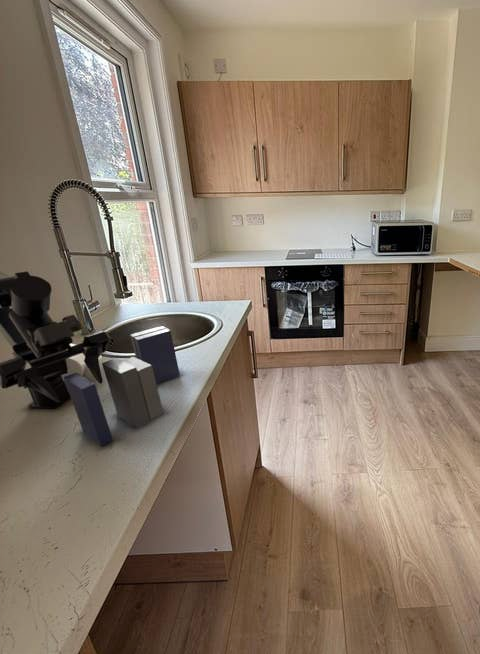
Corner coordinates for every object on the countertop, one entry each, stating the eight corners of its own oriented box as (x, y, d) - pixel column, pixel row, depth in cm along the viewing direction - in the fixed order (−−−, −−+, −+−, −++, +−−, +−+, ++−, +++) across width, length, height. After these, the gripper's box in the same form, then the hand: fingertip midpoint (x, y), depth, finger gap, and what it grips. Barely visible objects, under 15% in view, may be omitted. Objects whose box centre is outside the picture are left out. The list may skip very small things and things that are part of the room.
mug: (49, 390, 87) (39, 361, 84) (57, 373, 95) (47, 346, 92) (104, 378, 92) (96, 351, 89) (107, 363, 100) (99, 337, 97)
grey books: (117, 415, 76) (101, 363, 71) (144, 402, 81) (131, 352, 76) (136, 428, 72) (121, 373, 67) (164, 413, 77) (151, 361, 72)
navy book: (83, 432, 71) (63, 377, 66) (94, 426, 73) (76, 372, 68) (101, 447, 67) (81, 389, 62) (113, 440, 69) (95, 383, 64)
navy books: (149, 387, 87) (137, 340, 82) (141, 380, 91) (129, 334, 86) (180, 375, 92) (170, 330, 87) (172, 369, 96) (162, 325, 91)
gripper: (-27, 322, 57) (24, 398, 56) (93, 293, 71) (136, 354, 70) (-22, 353, 64) (23, 422, 63) (86, 322, 78) (125, 377, 77)
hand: (81, 391), depth 68 cm, fingers open, 7 cm apart
